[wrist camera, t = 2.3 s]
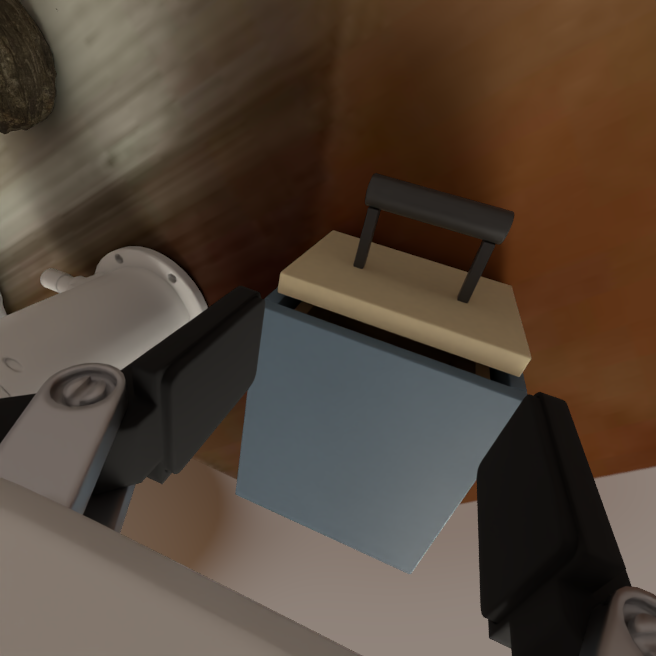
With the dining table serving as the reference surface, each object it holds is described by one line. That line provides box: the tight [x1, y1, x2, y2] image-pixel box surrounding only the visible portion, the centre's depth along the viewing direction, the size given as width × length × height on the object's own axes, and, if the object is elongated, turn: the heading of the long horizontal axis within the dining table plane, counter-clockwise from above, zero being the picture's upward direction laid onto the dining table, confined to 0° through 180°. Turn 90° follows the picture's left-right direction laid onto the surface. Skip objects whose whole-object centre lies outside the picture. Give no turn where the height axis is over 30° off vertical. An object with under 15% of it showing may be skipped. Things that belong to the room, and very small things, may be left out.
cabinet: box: [236, 287, 527, 574], centre depth 26 cm, size 17×14×11 cm
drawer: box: [278, 173, 531, 379], centre depth 24 cm, size 20×12×9 cm, turn 168°
